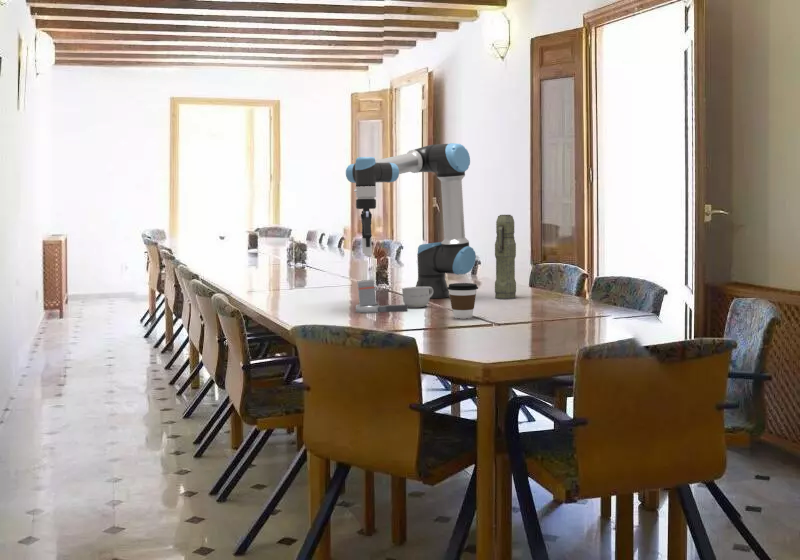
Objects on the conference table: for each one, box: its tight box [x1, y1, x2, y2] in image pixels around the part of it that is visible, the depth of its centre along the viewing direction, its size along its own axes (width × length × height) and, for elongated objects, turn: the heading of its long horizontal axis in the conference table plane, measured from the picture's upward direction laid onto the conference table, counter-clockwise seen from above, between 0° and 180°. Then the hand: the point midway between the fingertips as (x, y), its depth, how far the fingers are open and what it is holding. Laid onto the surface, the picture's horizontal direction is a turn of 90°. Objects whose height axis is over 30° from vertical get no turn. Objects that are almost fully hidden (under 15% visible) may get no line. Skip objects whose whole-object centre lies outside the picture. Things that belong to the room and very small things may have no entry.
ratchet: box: [355, 303, 408, 314], centre depth 359 cm, size 20×9×8 cm, turn 95°
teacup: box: [401, 286, 433, 309], centre depth 371 cm, size 14×11×8 cm
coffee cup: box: [447, 282, 479, 320], centre depth 338 cm, size 11×11×12 cm
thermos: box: [494, 214, 517, 300], centre depth 396 cm, size 9×12×35 cm
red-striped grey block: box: [357, 279, 377, 306], centre depth 358 cm, size 6×6×9 cm
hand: (366, 254), depth 357 cm, fingers open, 13 cm apart
